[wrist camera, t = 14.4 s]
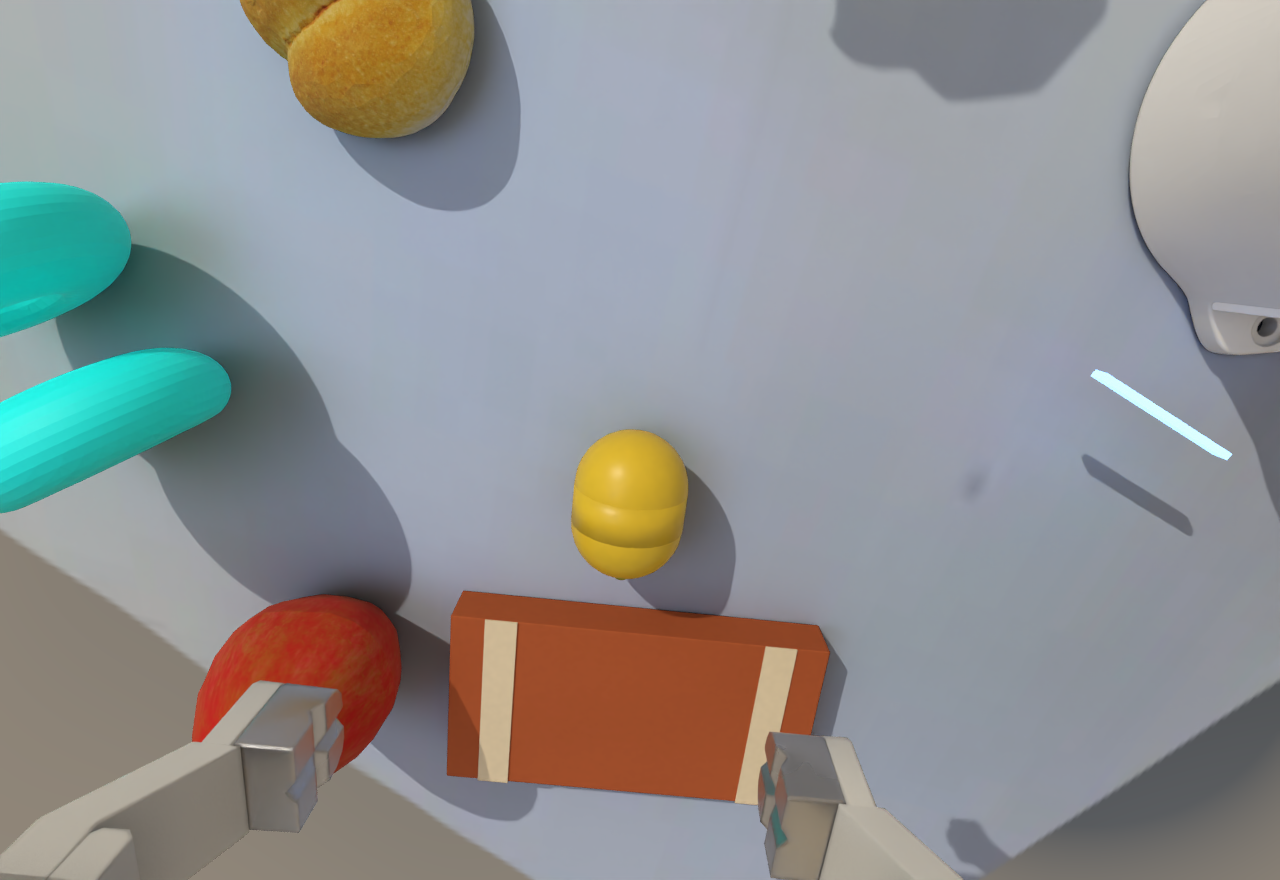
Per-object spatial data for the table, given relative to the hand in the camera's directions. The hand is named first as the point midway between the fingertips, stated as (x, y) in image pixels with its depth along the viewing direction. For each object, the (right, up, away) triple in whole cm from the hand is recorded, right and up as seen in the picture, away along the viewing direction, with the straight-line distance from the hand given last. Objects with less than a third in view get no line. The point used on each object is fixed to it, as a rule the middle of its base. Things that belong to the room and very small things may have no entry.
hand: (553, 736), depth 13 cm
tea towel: (+1, -8, +24) cm, 26 cm away
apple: (-14, -4, +23) cm, 27 cm away
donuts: (-22, +11, +18) cm, 30 cm away
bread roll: (-9, +23, +14) cm, 29 cm away
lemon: (0, +4, +20) cm, 21 cm away
